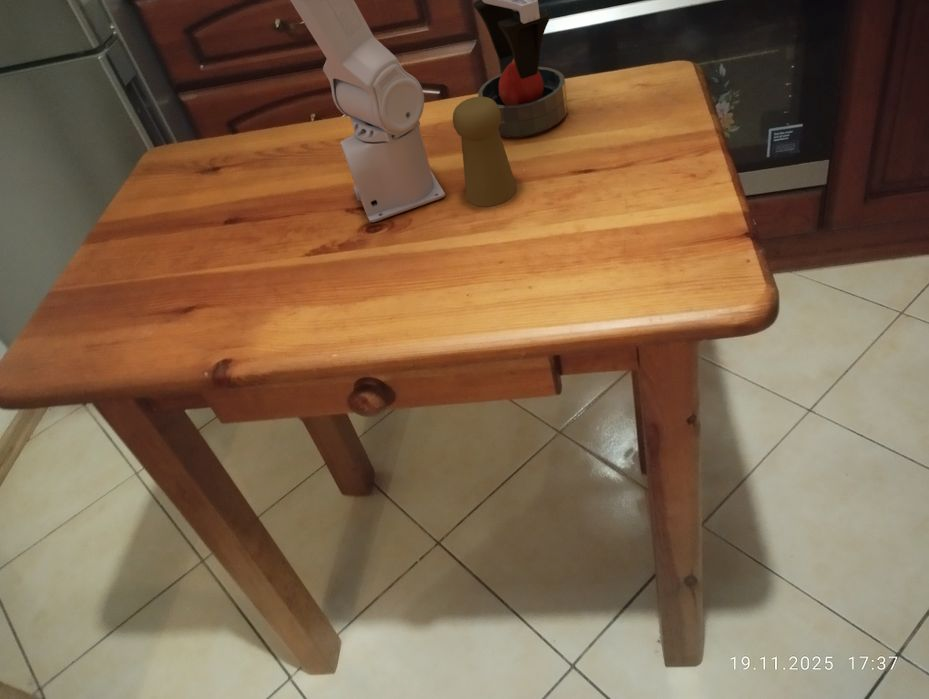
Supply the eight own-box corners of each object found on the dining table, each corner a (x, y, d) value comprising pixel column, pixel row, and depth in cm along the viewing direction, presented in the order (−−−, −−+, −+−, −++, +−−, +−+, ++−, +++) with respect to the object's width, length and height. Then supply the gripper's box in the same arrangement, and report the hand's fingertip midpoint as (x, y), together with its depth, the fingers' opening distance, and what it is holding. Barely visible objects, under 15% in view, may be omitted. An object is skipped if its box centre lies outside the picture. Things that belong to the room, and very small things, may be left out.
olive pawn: (457, 190, 81) (437, 103, 73) (502, 171, 82) (486, 83, 74) (479, 213, 76) (459, 122, 69) (526, 192, 77) (511, 101, 70)
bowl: (501, 149, 86) (495, 116, 82) (473, 116, 94) (466, 85, 90) (582, 121, 87) (579, 87, 83) (547, 90, 95) (543, 58, 91)
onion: (496, 113, 91) (486, 54, 86) (535, 99, 92) (527, 40, 87) (513, 130, 87) (504, 69, 82) (554, 115, 88) (547, 53, 82)
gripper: (559, -53, 71) (570, 74, 80) (510, -76, 81) (525, 38, 91) (497, -33, 70) (515, 93, 79) (455, -59, 81) (476, 55, 90)
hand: (517, 65), depth 85 cm, fingers open, 7 cm apart
